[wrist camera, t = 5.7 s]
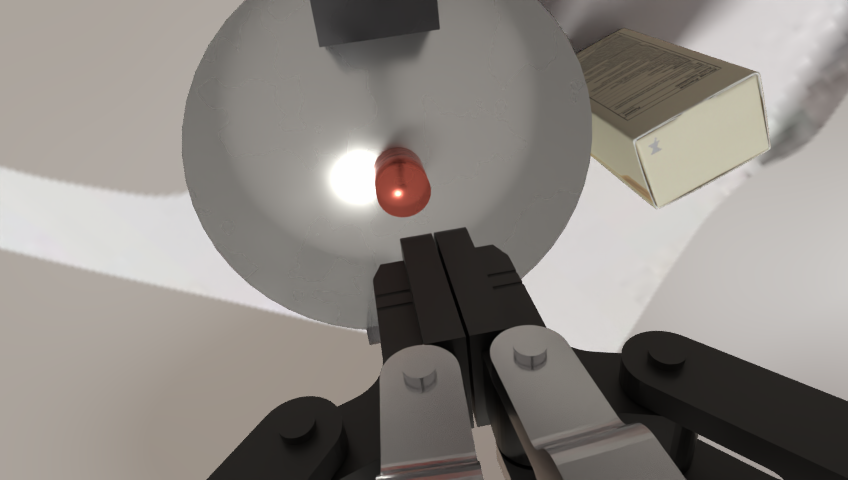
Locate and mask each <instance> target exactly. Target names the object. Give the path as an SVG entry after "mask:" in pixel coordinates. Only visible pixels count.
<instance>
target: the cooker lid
mask: <svg viewBox="0 0 848 480" xmlns="http://www.w3.org/2000/svg"><path fill="white" fill-rule="evenodd" d="M591 146H592V112H591V105H590V99H589V93H588V88H587V85H586V81H585V78H584V75H583V71H582V68H581V65H580V63H579V61H578V58H577V56H576V54H575V52H574V50H573V48H572V46H571V44H570V41H569V40H568V38H567V37H566V35H565V34H564V32H563V31H562V29H561V28H560V26H559V25H558V23H557V22H556V20H555V19H554V17H553V16H552V15H551V14H550V13H549V12H548V11H547V10H546V9H545V7H544V6H543V5H542V4H541V3H540V2H539V1H538V0H245V1H244V2H243V3H242V4H241V5H240V6H239V7H238V8H237V9H236V10H235V12H233V13H232V14H231V16H230V17H229V18H228V19H227V20H226V21H225V23H224V24H223V26H222V27H221V28H220V30H219V31H218V33H217V34H216V35H215V37H214V39H213V40H212V41H211V43H210V44H209V46H208V48H207V50H206V52H205V54H204V56H203V58H202V60H201V62H200V64H199V66H198V68H197V70H196V72H195V75H194V78H193V82H192V85H191V88H190V91H189V94H188V97H187V101H186V107H185V113H184V119H183V126H182V157H183V164H184V172H185V178H186V183H187V187H188V190H189V193H190V197H191V200H192V204H193V207H194V209H195V211H196V213H197V215H198V218H199V220H200V222H201V224H202V227H203V229H204V230H205V232H206V233H207V235H208V237H209V238H210V240H211V241H212V243H213V245H214V246H215V248H216V249H217V251H218V252H219V253H220V254H221V255H222V257H223V258H224V259H225V260H226V261H227V263H228V264H229V265H230V266H231V267H232V268H233V269H234V270H235V271H236V272H237V273H238V274H239V275H240V276H241V277H242V278H243V279H244V280H245V281H246V282H248V283H249V284H250V285H251V286H252V287H254V288H255V289H257V290H258V291H259V292H261V293H262V294H263V295H265V296H266V297H268V298H269V299H271V300H273V301H275V302H276V303H278V304H280V305H282V306H283V307H285V308H287V309H289V310H291V311H294V312H296V313H298V314H301V315H303V316H306V317H308V318H311V319H314V320H317V321H321V322H324V323H328V324H331V325H336V326H342V327H347V328H353V329H366V330H367V334H368V339H369V343H370V345H373V344H378V343H381V340H380V333H379V325H378V317H377V309H376V302H375V294H374V286H373V278H374V276H375V274H376V272H377V270H378V268H379V266H380V264H386V263H391V262H397V261H403V259H402V252H401V246H400V238H406V237H411V236H417V235H423V234H429V233H432V236H433V234H434V232H439V231H445V230H451V229H457V228H462V227H466V228H467V230H468V233H469V235H470V237H471V239H472V242H473V244H474V246H475V247H481V246H486V245H492V244H493V245H494V246H496V247H497V248H499V249H500V250H501V251H503V252H504V253H506V254H507V255H508V256H509V258H510V259H511V261H512V263H513V265H514V267H515V269H516V273H518V275H519V277H520V278H521V279H522V278H523V277H524V276H525V275H526V274H527V273H528V272H529V271H530V270H532V269H533V268H534V267H535V266H536V265H537V264H538V263H539V262H540V260H541V259H542V258H543V257H544V256H545V255H546V253H547V252H548V251H549V250H550V249H551V248H552V246H553V245H554V243H555V242H556V240H557V239H558V237H559V236H560V235H561V233H562V232H563V230H564V229H565V227H566V225H567V223H568V221H569V219H570V217H571V216H572V214H573V212H574V210H575V208H576V205H577V203H578V200H579V197H580V195H581V192H582V190H583V187H584V184H585V180H586V175H587V171H588V167H589V163H590V155H591ZM433 239H434V237H433Z"/></svg>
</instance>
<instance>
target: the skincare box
mask: <svg viewBox="0 0 848 480" xmlns="http://www.w3.org/2000/svg"><path fill="white" fill-rule="evenodd" d="M576 56H577V58H578V61H579V63H580V65H581V68H582V71H583V75H584V78H585V81H586V85H587V88H588V93H589V99H590V105H591V112H592V146H591V156H592V157H593V158H594V159H596V160H597V161H598V162H599V163H600V164H601V165H603V166H604V167H605V168H606V169H608V170H609V171H610V172H611V173H612V174H614V175H615V176H616V177H617V178H618V179H620V180H621V181H622V182H623V183H625V184H626V185H627V186H628V187H629V188H631V189H632V190H633V191H634V192H636V193H637V194H638V195H639V196H640V197H642V198H643V199H644V200H645V201H647V202H648V203H649V204H650V205H652V206H653V207H654V208H655V209H660V208H662V207H664V206H666V205H668V204H671V203H672V202H674V201H676V200H678V199H681V198H682V197H684V196H686V195H688V194H690V193H692V192H694V191H696V190H698V189H700V188H702V187H703V186H705V185H707V184H709V183H711V182H713V181H714V180H716V179H718V178H720V177H722V176H724V175H725V174H727V173H729V172H731V171H733V170H734V169H736V168H738V167H740V166H742V165H743V164H745V163H747V162H749V161H751V160H752V159H754V158H756V157H757V156H759V155H761V154H763V153H764V152H766V151H768V150H769V149H770V148H771V145H770V138H769V130H768V122H767V114H766V108H765V101H764V94H763V88H762V82H761V76H760V74H759V73H758V72H756V71H753V70H750V69H747V68H744V67H741V66H738V65H735V64H732V63H729V62H726V61H723V60H720V59H717V58H714V57H711V56H708V55H705V54H702V53H699V52H696V51H692V50H689V49H687V48H684V47H681V46H677V45H674V44H671V43H668V42H665V41H662V40H659V39H656V38H653V37H650V36H647V35H644V34H641V33H638V32H635V31H632V30H629V29H626V28H623V29H620V30H619V31H617V32H615V33H613V34H611V35H609V36H608V37H606V38H604V39H602V40H600V41H598V42H597V43H595V44H593V45H591V46H590V47H588V48H586V49H584V50H583V51H581V52H579V53H578V54H576Z"/></svg>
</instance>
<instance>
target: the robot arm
mask: <svg viewBox="0 0 848 480" xmlns="http://www.w3.org/2000/svg"><path fill="white" fill-rule="evenodd" d="M433 237H434V239H433ZM400 246H401V252H402V259H403V261H397V262H391V263H386V264H380V266H379V268H378V270H377V272H376V274H375V276H374V278H373V286H374V294H375V302H376V309H377V317H378V325H379V333H380V340H381V348H382V356H383V367H382V369H381V372H380V376H379V377H378V379H377V381H376V382H375V383H374V384H373V385H372V386H371V387H370V388H369V389H368V390H367V391H366V392H364V393H363V394H361V395H360V396H358V397H356V398H354V399H352V400H350V401H348V402H346V403H344V404H342V405H340V406H338V407H337V406H335V404H333V403H332V402H331V401H329V400H327V399H324V398H321V397H315V396H309V397H308V396H306V397H299V398H296V399H292V400H290V401H287V402H285V403H283V404H281V405H279V406H278V407H277V408H275V409H274V410H272V411H271V412H270V413H269V414H268V415H267V416H266V417H265V418H264V419H263V420H262V421H261V422H260V423H259V424H258V425H257V426H256V428H255V429H254V430H253V431H252V432H251V433H250V434H249V435H248V436H247V437H246V438H245V439H244V440H243V441H242V443H241V444H240V445H239V446H238V447H237V448H236V449H235V450H234V451H233V452H232V453H231V454H230V455H229V456H228V457H227V458H226V459H225V461H224V462H223V463H222V464H221V465H220V466H219V467H218V468H217V469H216V470H215V471H214V472H213V473H212V474H211V475H210V477H209V478H208V479H207V480H484V479H483V474H482V470H481V465H480V462H479V461H478V460H477V456H476V451H475V445H474V440H473V435H472V429H471V428H474V421H473V413H474V417H475V420H476V424H477V426H478V427H480V426H485V425H490V424H491V427H492V430H493V433H494V436H495V439H496V455H497V461H498V464H499V466H500V469H501V471H502V474H503V476H504V478H505V480H780V479H777V478H775V477H772V476H770V475H768V474H766V473H764V472H762V471H760V470H758V469H756V468H754V467H752V466H750V465H748V464H746V463H744V462H742V461H740V460H738V459H736V458H735V457H732V456H731V455H729V454H727V453H725V452H723V451H721V450H718V449H716V448H715V447H713V446H711V445H709V444H706V443H705V442H703V441H701V440H699V439H697V438H698V434H699V435H701V436H703V437H705V438H707V439H709V440H711V441H713V442H715V443H717V444H719V445H721V446H724V447H725V448H727V449H729V450H731V451H734V452H735V453H738V454H740V455H741V456H744V457H746V458H748V459H750V460H752V461H754V462H756V463H758V464H760V465H762V466H764V467H766V468H768V469H770V470H771V471H773V472H775V473H776V474H778V475H779V476H780V477H782V478H783V479H784V480H848V401H846V400H843V399H841V398H838V397H836V396H833V395H831V394H828V393H825V392H823V391H820V390H818V389H815V388H813V387H810V386H808V385H805V384H803V383H800V382H798V381H795V380H793V379H790V378H788V377H785V376H783V375H780V374H778V373H775V372H772V371H770V370H768V369H765V368H762V367H760V366H757V365H755V364H752V363H750V362H747V361H745V360H742V359H740V358H737V357H735V356H732V355H730V354H727V353H725V352H722V351H720V350H717V349H714V348H712V347H709V346H707V345H704V344H702V343H699V342H697V341H694V340H692V339H689V338H687V337H684V336H681V335H679V334H675V333H671V332H664V331H649V332H643V333H640V334H637V335H635V336H633V337H631V338H630V339H629V340H628V341H627V342H626V343H625V344H624V346H623V349H622V353H606V352H591V351H584V350H579V349H576V348H573V347H570V345H569V344H568V342H567V341H566V340H565V339H564V338H563V337H562V336H561V335H560V334H558V333H557V332H555V331H553V330H551V329H548V328H546V326H545V324H544V322H543V320H542V318H541V316H540V315H539V313H538V311H537V309H536V307H535V305H534V303H533V301H532V299H531V297H530V296H529V294H528V292H527V290H526V288H525V286H524V284H522V280H521V278H520V277H519V275H518V273H516V269H515V267H514V265H513V263H512V261H511V259H510V258H509V256H508V255H507V254H506V253H504V252H503V251H501V250H500V249H499V248H497V247H496V246H494V245H493V244H492V245H486V246H481V247H475V246H474V244H473V242H472V239H471V237H470V235H469V233H468V230H467V228H466V227H462V228H457V229H451V230H445V231H439V232H434V234H433V236H432V233H429V234H423V235H417V236H411V237H406V238H400Z"/></svg>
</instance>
